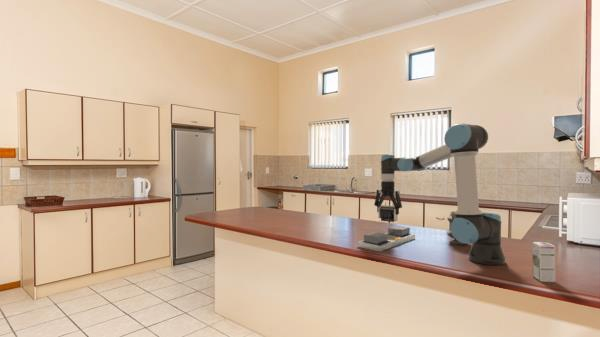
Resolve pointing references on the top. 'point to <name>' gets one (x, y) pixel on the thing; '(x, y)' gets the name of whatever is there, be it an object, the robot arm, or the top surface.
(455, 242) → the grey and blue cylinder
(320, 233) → the top surface
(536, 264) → the syrup box
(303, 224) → the top surface
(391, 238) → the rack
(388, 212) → the electrical switch
